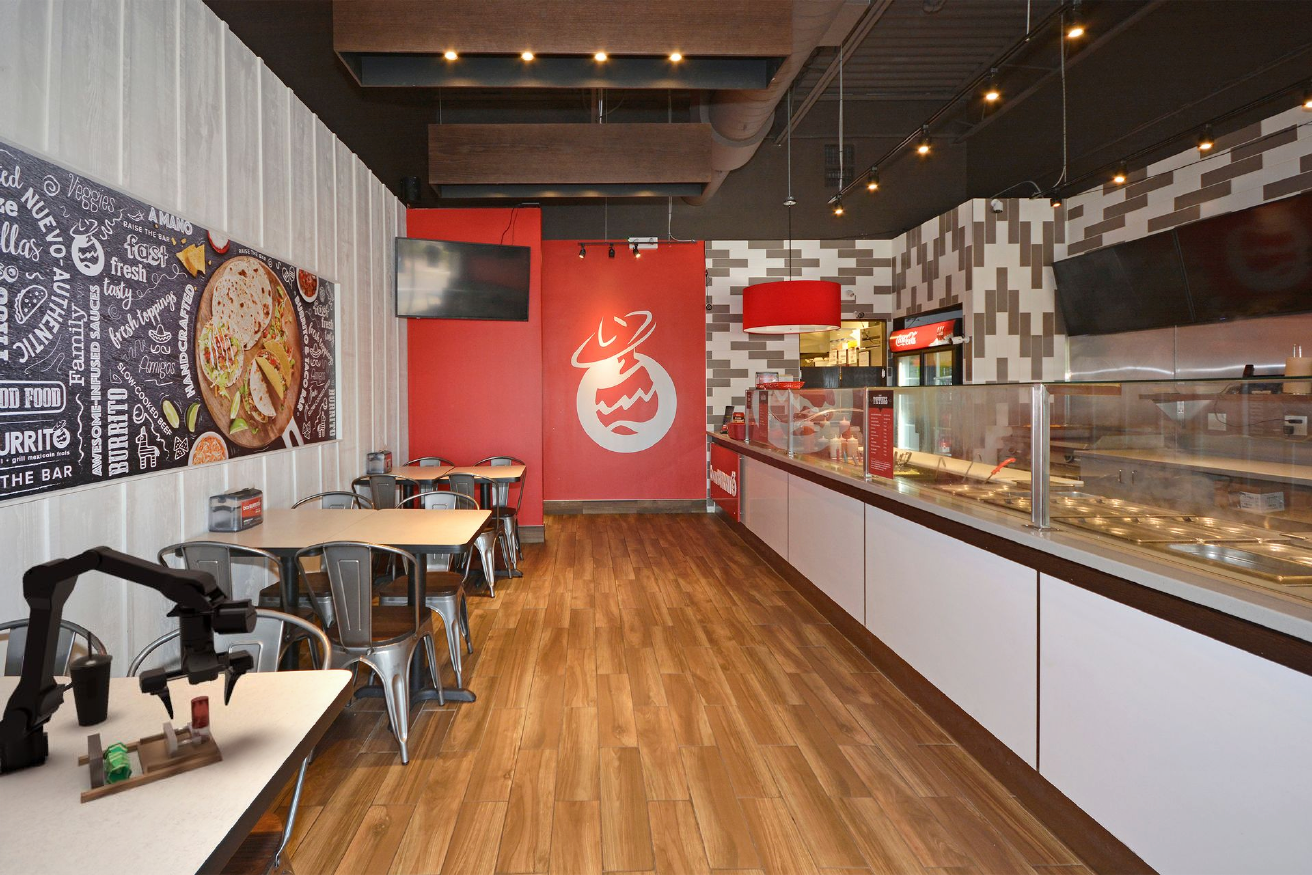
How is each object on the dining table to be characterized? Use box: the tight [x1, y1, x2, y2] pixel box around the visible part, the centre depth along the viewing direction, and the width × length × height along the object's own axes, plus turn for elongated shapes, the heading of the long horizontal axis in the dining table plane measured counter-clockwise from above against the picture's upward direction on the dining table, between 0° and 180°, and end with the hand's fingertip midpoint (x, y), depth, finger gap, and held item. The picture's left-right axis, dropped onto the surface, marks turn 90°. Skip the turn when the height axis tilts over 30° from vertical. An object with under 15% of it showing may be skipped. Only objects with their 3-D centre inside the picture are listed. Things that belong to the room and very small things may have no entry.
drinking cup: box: [66, 631, 114, 727], centre depth 149 cm, size 8×8×20 cm
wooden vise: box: [77, 731, 223, 804], centre depth 132 cm, size 21×18×6 cm
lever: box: [162, 695, 211, 759], centre depth 136 cm, size 7×10×8 cm
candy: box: [103, 742, 133, 785], centre depth 128 cm, size 12×3×4 cm
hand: (199, 711), depth 137 cm, fingers open, 9 cm apart
